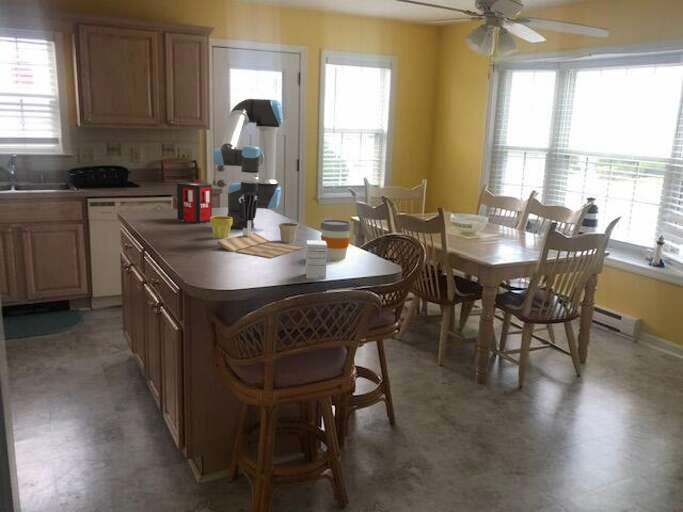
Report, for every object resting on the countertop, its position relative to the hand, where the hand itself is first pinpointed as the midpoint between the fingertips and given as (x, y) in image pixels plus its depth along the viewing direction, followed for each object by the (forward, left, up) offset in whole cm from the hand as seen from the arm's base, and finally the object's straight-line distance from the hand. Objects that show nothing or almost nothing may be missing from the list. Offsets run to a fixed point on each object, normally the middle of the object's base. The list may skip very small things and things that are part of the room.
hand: (246, 234), depth 263 cm
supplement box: (+29, +53, -5) cm, 61 cm away
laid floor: (+5, +17, -5) cm, 18 cm away
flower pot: (-16, +12, -5) cm, 20 cm away
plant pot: (-5, -18, -5) cm, 19 cm away
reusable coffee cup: (-2, +44, -5) cm, 44 cm away
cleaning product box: (-33, -59, -5) cm, 68 cm away
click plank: (+5, +2, -3) cm, 7 cm away
